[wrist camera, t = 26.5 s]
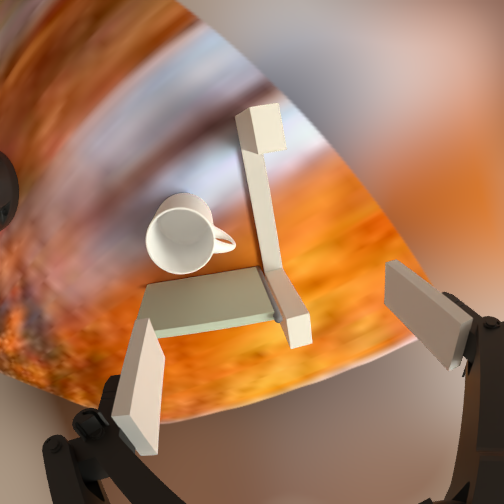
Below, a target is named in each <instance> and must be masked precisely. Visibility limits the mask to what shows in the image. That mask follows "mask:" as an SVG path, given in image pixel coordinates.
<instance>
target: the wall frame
mask: <svg viewBox="0 0 504 504" xmlns="http://www.w3.org/2000/svg"><path fill="white" fill-rule="evenodd" d="M235 121H236V126H237V131H238V136H239V142H240V147H241V152H242V157H243V162H244V167H245V173H246V178H247V183H248V188H249V194H250V199H251V204H252V209H253V215H254V220H255V225H256V231H257V236H258V241H259V247H260V252H261V257H262V263H263V268H264V273H265V279H266V281H267V284H268V286H269V288H270V290H271V293H272V295H273V297H274V299H275V302H276V304H277V306H278V308H279V311H280V313H281V315H282V317H283V320H282V322H280V324H281V327H282V329H283V331H284V334H285V336H286V339H287V341H288V343H289V346H290V348H291V349H293V348H297V347H300V346H304V345H307V344H311V343H312V335H311V325H310V315H309V312H308V310H307V308H306V307H305V305H304V303H303V302H302V300H301V298H300V297H299V295H298V293H297V291H296V290H295V288H294V286H293V285H292V283H291V281H290V280H289V278H288V276H287V275H286V273H285V271H284V270H283V268H282V261H281V255H280V249H279V243H278V237H277V230H276V224H275V218H274V213H273V207H272V201H271V195H270V189H269V183H268V178H267V172H266V167H265V161H264V155H263V154H264V153H269V152H275V151H281V150H287V148H286V142H285V137H284V131H283V125H282V120H281V114H280V109H279V104H278V103H275V104H268V105H261V106H255V107H249V108H248V109H246V110H244V111H243V112H241V113H240V114H238V115H236V116H235Z"/></svg>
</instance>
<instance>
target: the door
mask: <svg viewBox="0 0 504 504" xmlns="http://www.w3.org/2000/svg"><path fill="white" fill-rule="evenodd" d="M144 318H149V319H150V322H151V324H152V327H153V329H154V332H155V334H156V337H157V338H164V337H172V336H179V335H186V334H193V333H200V332H206V331H212V330H219V329H225V328H231V327H237V326H242V325H248V324H254V323H259V322H264V321H270V320H275V322H277V323H280V322H282V320H283V317H282V315H281V313H280V311H279V308H278V306H277V304H276V302H275V299H274V297H273V295H272V293H271V290H270V288H269V286H268V284H267V281H266V279H265V277H264V275H263V272H262V270H261V268H260V266H256V267H251V268H246V269H240V270H234V271H228V272H221V273H215V274H209V275H203V276H197V277H191V278H185V279H178V280H172V281H166V282H159V283H153V284H147V287H146V290H145V294H144V297H143V300H142V303H141V307H140V310H139V313H138V317H137V320H139V319H144Z"/></svg>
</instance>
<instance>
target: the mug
mask: <svg viewBox="0 0 504 504" xmlns="http://www.w3.org/2000/svg"><path fill="white" fill-rule="evenodd" d="M215 238H219V239H225V240H228V241H230V242H232V244H227V243H224V242H221V241H219V240H217V239H215ZM145 242H146V248H147V251H148V254H149V256H150V258H151V259H152V260H153V262H154V263H155V264H156V265H157V266H159V267H160V268H161V269H163V270H165V271H167V272H170V273H174V274H188V273H192V272H195V271H197V270H199V269H200V268H202V267H203V266H204V265H205V264H206V263H207V262H208V261H209V260H210V258H211V256H212V254H213V253H225V252H229V251H232V250H233V249H234V248H235V247H236V243H235V241H234V240H233V239H232V238H231V237H230V236H229V235H228V234H227V233H225V232H224V231H222V230H221V229H219V228H217V227H215V226H214V225H213V219H212V214H211V211H210V209H209V207H208V205H207V204H206V203H205V202H204V201H203V200H202V199H201V198H200V197H198V196H196V195H193V194H190V193H179V194H175V195H172V196H170V197H169V198H167V199H166V200H165V201H164V202H163V203H162V204H161V205H160V207H159V208H158V210H157V212H156V214H155V215H154V217H153V219H152V221H151V223H150V224H149V226H148V229H147V232H146V239H145Z"/></svg>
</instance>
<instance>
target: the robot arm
mask: <svg viewBox="0 0 504 504" xmlns="http://www.w3.org/2000/svg"><path fill="white" fill-rule="evenodd" d="M18 199H19V186H18V180H17V175H16V172H15V169H14V167H13V165H12V163H11V162H10V160H9V159H8V158H7V156H6V155H5V154H3V153H2V152H1V151H0V231H1V230H3V229H4V228H6V227H7V226H8V225H9V223H10V222H11V221H12V219H13V217H14V215H15V212H16V209H17V205H18ZM384 304H385V305H386V306H387V307H388V308H389V309H390V310H391V311H392V312H393V313H394V314H395V315H396V316H397V317H398V318H399V319H400V320H401V321H402V322H403V323H404V324H405V325H406V327H407V328H408V329H409V330H410V331H411V332H412V333H413V334H414V335H415V336H416V337H417V338H418V339H419V340H420V341H421V342H422V343H423V344H424V345H425V346H426V348H427V349H428V350H429V351H430V352H431V353H432V354H433V355H434V356H435V357H436V358H437V359H438V360H439V362H440V363H441V364H442V365H443V366H444V367H445V368H446V369H447V370H448V371H450V370H452V369H454V368H456V367H458V366H460V364H461V361H462V358H463V356H464V357H465V358H466V359H467V363H466V366H465V369H464V372H463V375H462V377H464V376H465V392H464V393H465V394H464V405H463V415H462V423H461V432H460V438H459V445H458V451H457V456H456V462H455V467H454V472H453V477H452V481H451V485H450V487H449V490H448V492H447V494H446V496H445V499H444V500H442V501H435V502H432V500H431V499H430V498H428V499H427V500H425V501H423V502H421V503H419V504H504V322H500V321H499V320H498V319H496V318H494V317H490V316H487V317H481V316H480V315H478V314H477V313H476V312H475V311H473V310H472V309H471V308H469V307H468V306H467V305H465V304H464V303H463V302H462V301H460V300H459V299H458V298H456V297H455V296H454V295H452V294H449V293H447V292H442V293H441V292H440V291H438V290H437V289H436V288H434V287H433V286H432V285H430V284H429V283H428V282H426V281H425V280H424V279H422V278H421V277H420V276H418V275H417V274H416V273H414V272H413V271H412V270H410V269H409V268H408V267H406V266H405V265H403V264H402V263H401V262H399V261H398V260H393V261H389V262H386V268H385V300H384ZM164 363H165V356H164V354H163V351H162V349H161V347H160V344H159V342H158V339H157V337H156V334H155V332H154V329H153V327H152V324H151V322H150V319H149V318H144V319H139V320H135V324H134V327H133V331H132V334H131V338H130V341H129V345H128V349H127V352H126V356H125V360H124V364H123V368H122V372H121V375H113V376H110V378H109V379H108V380H107V382H106V383H105V386H104V389H103V394H102V396H101V400H100V404H99V408H98V410H97V409H94V408H87V409H84V410H82V411H80V412H79V413H78V414H77V415H76V416H75V417H74V419H73V424H72V425H73V429H74V430H75V431H76V432H77V434H78V435H79V436H80V438H76V439H73V440H69V441H68V440H67V439H66V438H65V437H63V436H62V435H54V436H51V437H49V438H48V439H47V440H46V441H45V442H44V445H43V449H42V452H43V458H44V464H45V469H46V475H47V480H48V484H49V488H50V493H51V497H52V501H53V504H110V502H109V499H108V497H107V494H106V492H105V490H104V488H103V485H102V482H101V479H104V478H108V477H110V478H111V479H112V480H113V482H114V483H115V484H116V485H117V487H118V488H119V489H120V490H121V491H122V493H123V494H124V495H125V496H126V497H127V498H128V500H129V501H130V502H131V503H132V504H186V503H185V502H184V501H182V500H181V499H180V498H179V497H178V496H177V495H176V494H175V493H174V492H172V491H171V490H170V489H169V488H168V487H167V486H166V485H165V484H164V483H163V482H162V481H160V479H159V478H158V477H157V476H156V475H154V473H153V472H152V471H150V469H149V468H148V467H147V466H146V465H145V464H144V463H143V462H142V461H141V460H140V459H139V458H138V457H137V456H136V455H135V449H136V450H137V451H138V453H139V454H140V455H141V456H143V455H157V454H158V438H159V422H160V408H161V395H162V384H163V373H164Z"/></svg>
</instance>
